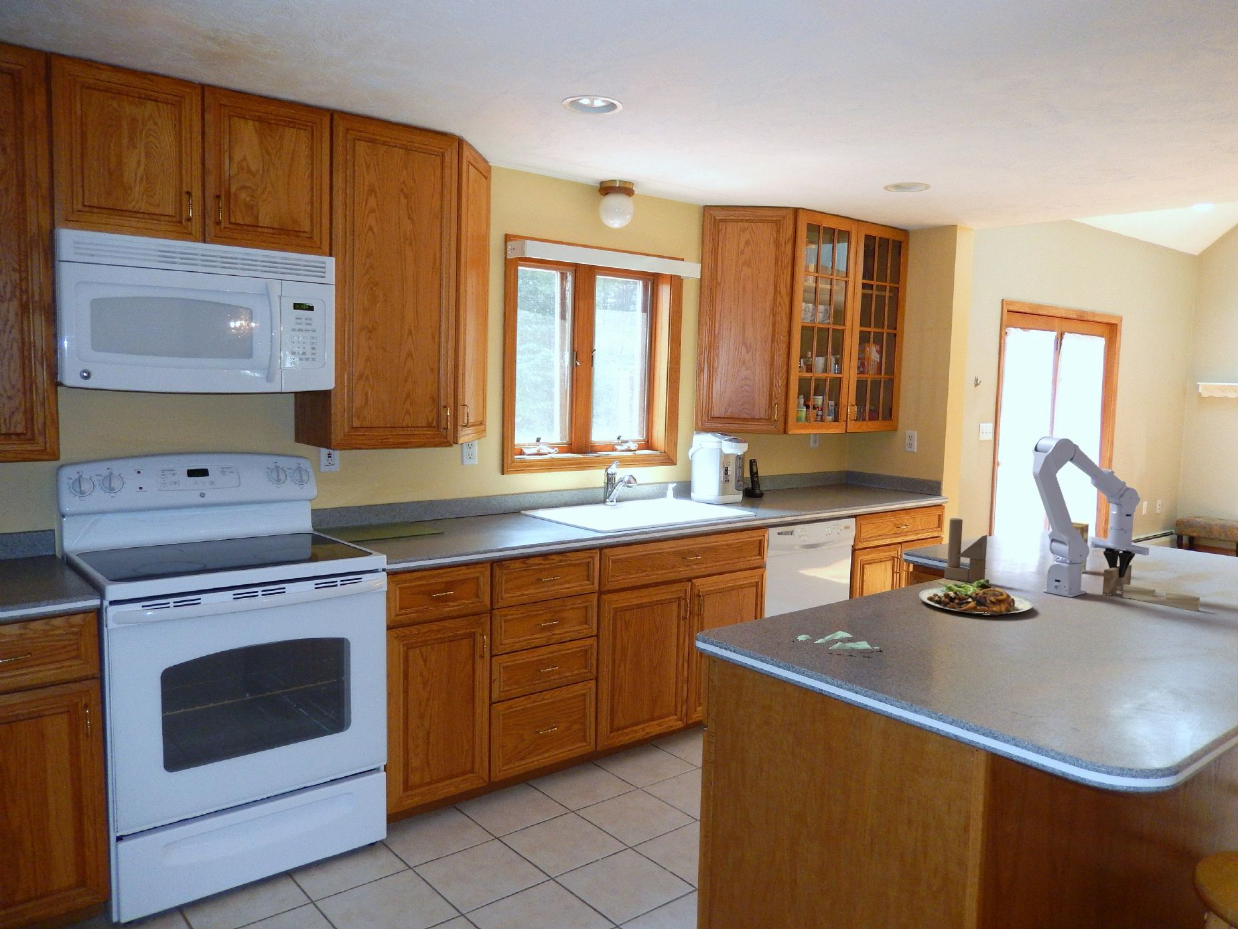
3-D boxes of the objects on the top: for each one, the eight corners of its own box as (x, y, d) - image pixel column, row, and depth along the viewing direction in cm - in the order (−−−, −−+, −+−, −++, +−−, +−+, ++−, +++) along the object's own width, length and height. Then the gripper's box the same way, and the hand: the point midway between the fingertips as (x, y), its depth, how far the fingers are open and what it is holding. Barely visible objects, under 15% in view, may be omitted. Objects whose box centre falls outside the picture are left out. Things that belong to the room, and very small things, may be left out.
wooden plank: (1108, 595, 246) (1110, 570, 245) (1102, 594, 247) (1104, 569, 246) (1130, 589, 254) (1131, 565, 254) (1124, 588, 256) (1125, 564, 255)
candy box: (1086, 571, 278) (1089, 523, 276) (1081, 573, 275) (1084, 524, 273) (1056, 567, 284) (1059, 520, 283) (1051, 569, 281) (1054, 521, 280)
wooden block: (980, 584, 257) (983, 523, 255) (943, 578, 264) (947, 518, 263) (985, 582, 260) (988, 521, 258) (949, 576, 267) (952, 517, 265)
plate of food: (957, 589, 251) (958, 568, 251) (1054, 609, 229) (1055, 586, 228) (896, 605, 235) (896, 583, 234) (994, 629, 213) (994, 604, 212)
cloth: (776, 640, 199) (776, 629, 199) (858, 632, 207) (858, 621, 207) (828, 667, 180) (828, 656, 180) (916, 657, 188) (916, 646, 188)
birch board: (1196, 611, 230) (1197, 598, 230) (1122, 597, 244) (1123, 584, 244) (1198, 610, 231) (1199, 597, 231) (1125, 596, 245) (1126, 584, 245)
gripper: (1154, 531, 246) (1151, 579, 247) (1100, 524, 257) (1097, 570, 258) (1144, 533, 241) (1140, 582, 243) (1089, 526, 253) (1086, 573, 254)
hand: (1117, 576), depth 250 cm, fingers closed on wooden plank, 2 cm apart
